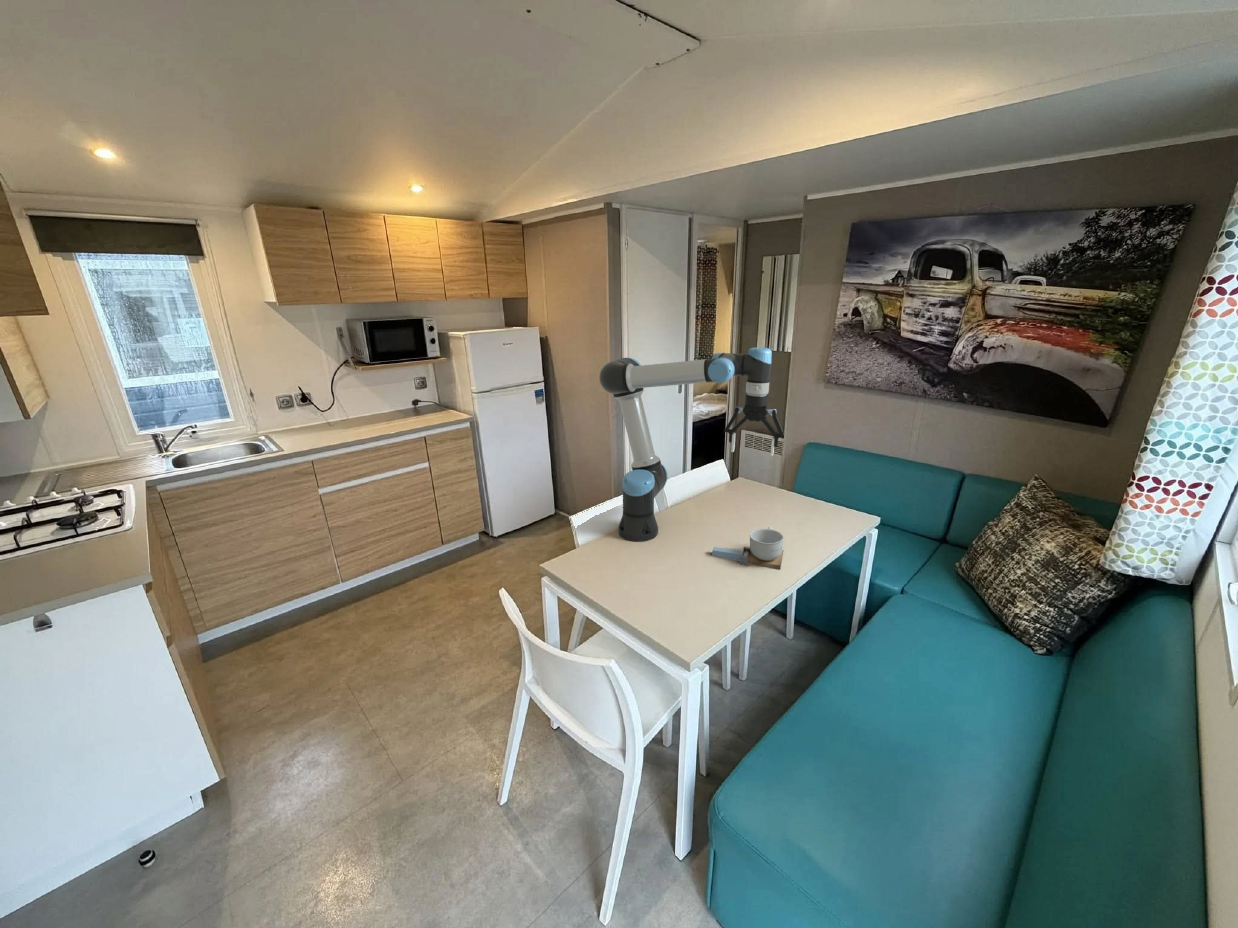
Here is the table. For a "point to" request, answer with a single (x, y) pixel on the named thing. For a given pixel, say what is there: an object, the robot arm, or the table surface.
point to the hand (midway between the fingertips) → (752, 453)
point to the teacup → (766, 543)
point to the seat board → (772, 563)
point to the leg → (728, 553)
